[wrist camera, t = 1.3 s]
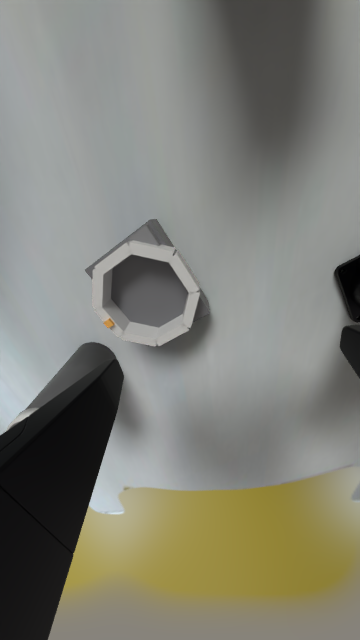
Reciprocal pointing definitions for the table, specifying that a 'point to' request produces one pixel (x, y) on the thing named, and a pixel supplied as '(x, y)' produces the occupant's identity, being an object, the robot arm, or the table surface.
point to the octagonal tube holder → (146, 288)
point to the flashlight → (68, 375)
